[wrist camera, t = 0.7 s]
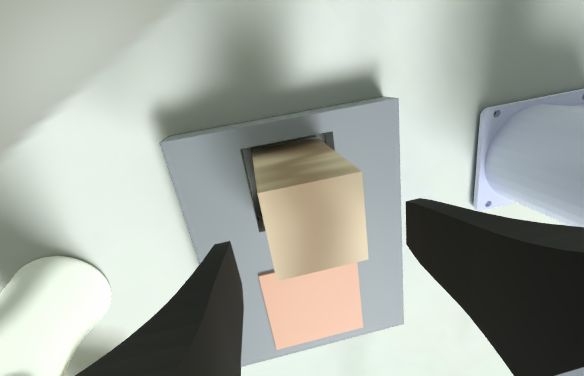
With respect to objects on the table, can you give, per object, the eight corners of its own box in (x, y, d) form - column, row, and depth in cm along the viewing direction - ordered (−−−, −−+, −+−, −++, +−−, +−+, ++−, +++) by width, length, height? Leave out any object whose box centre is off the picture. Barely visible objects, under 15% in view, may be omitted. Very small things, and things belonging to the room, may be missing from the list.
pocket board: (383, 96, 19) (400, 98, 17) (392, 306, 26) (404, 325, 24) (168, 136, 18) (158, 143, 16) (235, 346, 24) (234, 371, 22)
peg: (316, 136, 19) (362, 171, 12) (324, 196, 21) (368, 259, 14) (251, 149, 19) (257, 193, 12) (264, 209, 21) (276, 281, 13)
